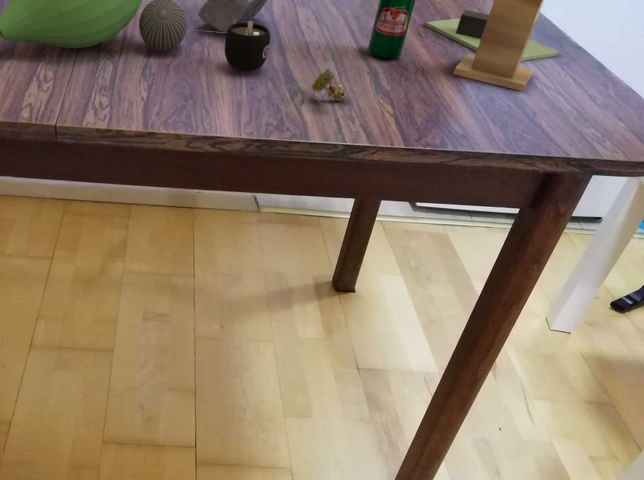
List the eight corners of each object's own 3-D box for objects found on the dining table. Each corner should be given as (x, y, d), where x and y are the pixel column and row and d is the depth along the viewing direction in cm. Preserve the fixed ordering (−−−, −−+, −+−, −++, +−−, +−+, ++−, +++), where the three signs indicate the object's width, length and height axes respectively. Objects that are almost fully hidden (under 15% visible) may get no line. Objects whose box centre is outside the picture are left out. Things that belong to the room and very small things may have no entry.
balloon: (-19, 108, 105) (148, 19, 109) (-12, 100, 92) (178, 0, 96) (-74, 12, 99) (104, -77, 104) (-75, -11, 86) (130, -112, 91)
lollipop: (235, -32, 108) (214, 1, 114) (140, -8, 97) (122, 28, 103) (270, 18, 107) (247, 49, 113) (179, 48, 97) (158, 80, 103)
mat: (557, 55, 112) (558, 51, 111) (502, 64, 107) (503, 60, 107) (477, 19, 123) (479, 15, 123) (425, 25, 119) (426, 22, 119)
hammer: (478, 8, 126) (484, -9, 124) (535, 21, 122) (542, 2, 120) (455, 33, 115) (461, 14, 113) (517, 47, 112) (524, 27, 110)
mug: (266, 79, 97) (274, 23, 92) (222, 75, 98) (227, 19, 93) (265, 48, 106) (272, -4, 101) (224, 45, 106) (229, -8, 101)
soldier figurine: (330, 77, 90) (352, 94, 93) (326, 73, 91) (348, 90, 94) (319, 90, 91) (341, 107, 94) (315, 86, 92) (337, 103, 95)
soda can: (366, 58, 106) (386, -29, 98) (367, 47, 110) (387, -38, 102) (400, 62, 105) (423, -24, 97) (400, 51, 109) (422, -33, 101)
